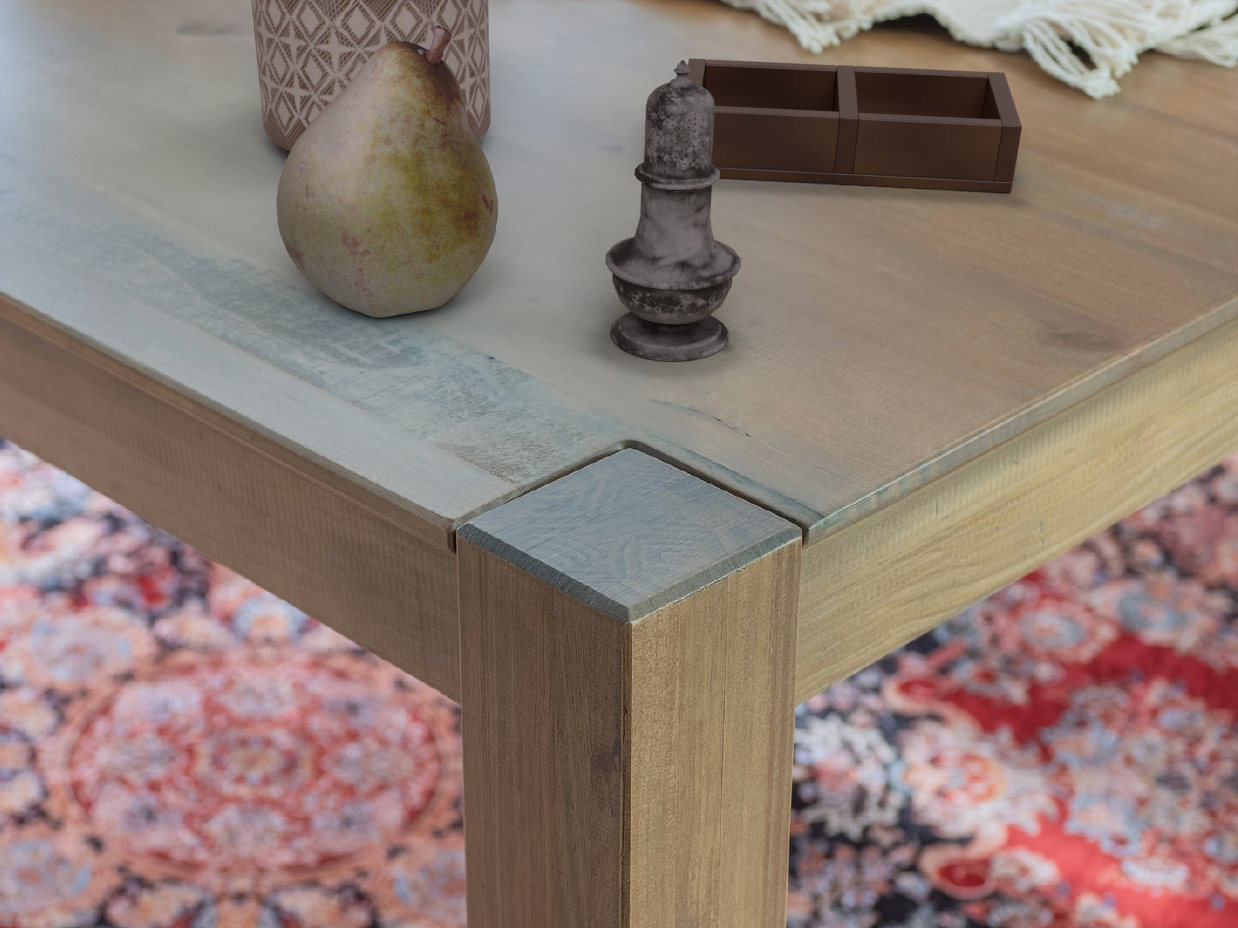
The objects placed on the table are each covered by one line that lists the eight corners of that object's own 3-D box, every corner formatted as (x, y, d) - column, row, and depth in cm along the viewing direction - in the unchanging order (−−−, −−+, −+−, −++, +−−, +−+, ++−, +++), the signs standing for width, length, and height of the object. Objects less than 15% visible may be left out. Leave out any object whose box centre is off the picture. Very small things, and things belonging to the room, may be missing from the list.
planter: (520, 168, 91) (518, -31, 85) (291, 193, 87) (272, -13, 81) (454, 99, 100) (449, -85, 94) (246, 120, 97) (226, -70, 91)
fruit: (541, 306, 76) (541, 38, 69) (378, 367, 71) (360, 83, 64) (402, 242, 82) (389, -12, 75) (242, 293, 77) (212, 26, 70)
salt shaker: (762, 343, 73) (785, 67, 66) (655, 375, 71) (667, 91, 63) (682, 297, 77) (696, 31, 70) (577, 326, 74) (581, 53, 67)
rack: (994, 135, 96) (1004, 72, 94) (1011, 193, 89) (1022, 126, 87) (685, 120, 98) (688, 58, 96) (675, 176, 90) (678, 109, 88)
